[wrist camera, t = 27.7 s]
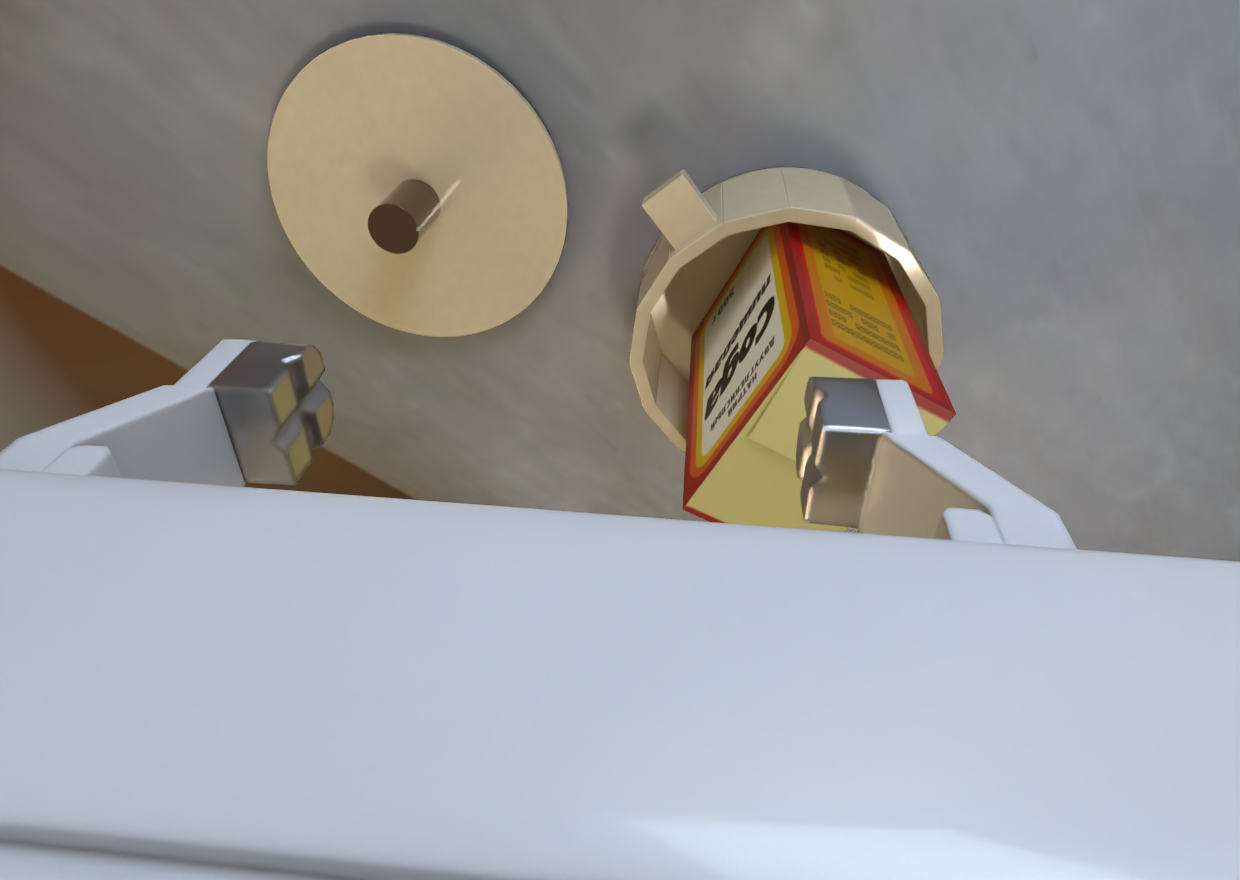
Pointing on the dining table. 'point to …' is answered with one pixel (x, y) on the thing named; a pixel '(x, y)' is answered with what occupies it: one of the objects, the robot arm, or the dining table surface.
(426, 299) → the pan lid
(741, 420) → the baking soda box
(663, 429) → the pan
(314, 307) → the dining table surface
